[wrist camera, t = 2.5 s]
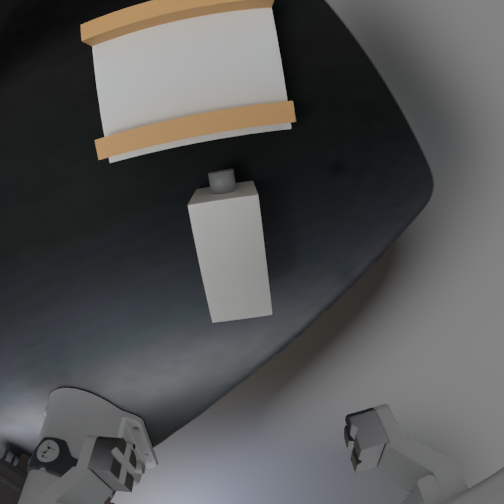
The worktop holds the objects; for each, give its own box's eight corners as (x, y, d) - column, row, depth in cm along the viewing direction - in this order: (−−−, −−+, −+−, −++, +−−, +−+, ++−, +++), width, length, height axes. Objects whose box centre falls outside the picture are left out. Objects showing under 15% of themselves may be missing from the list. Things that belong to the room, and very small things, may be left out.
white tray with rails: (282, 128, 25) (296, 128, 20) (125, 157, 25) (100, 166, 20) (262, 4, 21) (270, -24, 15) (107, 36, 21) (80, 19, 15)
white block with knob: (265, 281, 31) (272, 314, 26) (215, 287, 31) (212, 322, 26) (250, 162, 27) (255, 172, 21) (193, 171, 27) (183, 183, 21)
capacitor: (29, 446, 44) (-7, 551, 16) (53, 474, 49) (28, 568, 21) (-11, 430, 43) (-50, 521, 15) (14, 460, 48) (-15, 544, 20)
